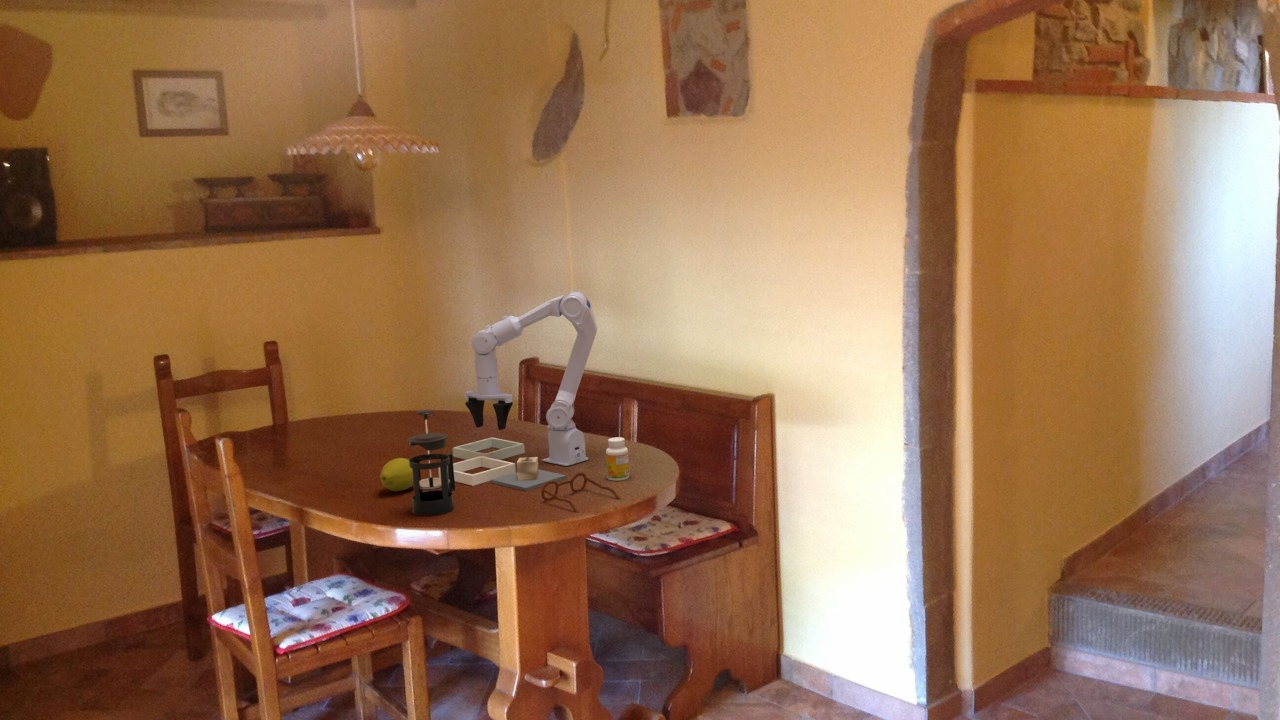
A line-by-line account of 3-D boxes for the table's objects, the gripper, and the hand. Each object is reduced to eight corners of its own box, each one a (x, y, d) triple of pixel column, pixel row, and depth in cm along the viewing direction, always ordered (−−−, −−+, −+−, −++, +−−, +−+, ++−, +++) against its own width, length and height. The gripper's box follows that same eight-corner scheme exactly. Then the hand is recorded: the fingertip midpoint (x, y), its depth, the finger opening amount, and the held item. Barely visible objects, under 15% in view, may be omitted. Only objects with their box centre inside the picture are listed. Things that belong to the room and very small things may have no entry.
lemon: (404, 483, 276) (401, 452, 274) (426, 487, 271) (424, 455, 270) (370, 495, 267) (367, 462, 266) (393, 499, 263) (390, 466, 261)
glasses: (585, 490, 263) (584, 470, 262) (621, 501, 253) (620, 479, 252) (540, 503, 254) (539, 482, 253) (576, 514, 245) (575, 492, 244)
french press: (430, 519, 245) (421, 417, 241) (401, 513, 251) (392, 413, 247) (468, 505, 254) (460, 406, 251) (439, 499, 260) (431, 403, 256)
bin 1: (524, 452, 300) (524, 443, 300) (485, 463, 291) (484, 454, 290) (492, 446, 310) (492, 437, 309) (453, 456, 300) (452, 447, 300)
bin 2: (515, 473, 280) (515, 463, 280) (472, 485, 270) (472, 475, 270) (481, 465, 289) (481, 455, 289) (439, 477, 280) (438, 467, 279)
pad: (566, 478, 273) (566, 475, 272) (525, 491, 263) (525, 487, 263) (531, 470, 282) (531, 467, 281) (491, 482, 272) (490, 479, 272)
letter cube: (538, 474, 274) (537, 456, 274) (536, 479, 270) (535, 461, 269) (520, 475, 275) (519, 457, 274) (518, 480, 270) (516, 462, 269)
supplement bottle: (604, 477, 272) (602, 438, 271) (625, 474, 274) (622, 435, 273) (611, 482, 267) (609, 442, 266) (632, 479, 269) (630, 440, 268)
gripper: (518, 375, 287) (522, 426, 289) (475, 372, 294) (479, 422, 297) (501, 380, 281) (504, 432, 283) (457, 377, 289) (461, 428, 291)
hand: (490, 427), depth 290 cm, fingers open, 7 cm apart
